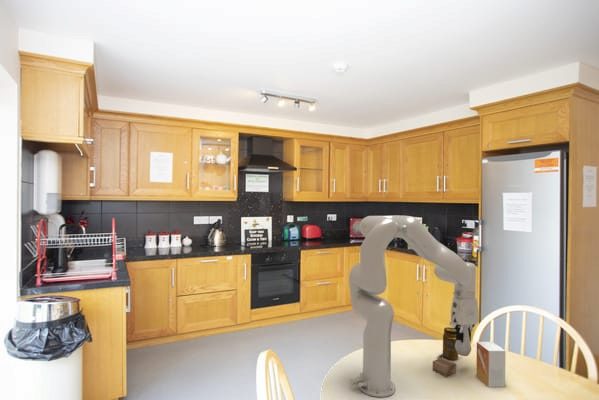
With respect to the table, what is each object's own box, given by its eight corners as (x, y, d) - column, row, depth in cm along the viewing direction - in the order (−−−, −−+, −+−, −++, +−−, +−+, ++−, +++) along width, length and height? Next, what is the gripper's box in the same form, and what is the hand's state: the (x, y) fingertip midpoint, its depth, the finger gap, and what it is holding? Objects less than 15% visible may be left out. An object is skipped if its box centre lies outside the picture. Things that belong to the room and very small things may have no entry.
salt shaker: (472, 358, 131) (473, 323, 131) (456, 356, 132) (457, 322, 133) (468, 351, 137) (469, 318, 137) (453, 350, 138) (454, 317, 138)
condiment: (462, 358, 145) (462, 329, 145) (453, 364, 139) (454, 334, 140) (444, 352, 151) (445, 324, 151) (436, 358, 145) (436, 329, 145)
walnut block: (446, 378, 129) (446, 367, 129) (432, 371, 134) (432, 361, 134) (456, 374, 132) (456, 363, 132) (442, 367, 137) (442, 357, 137)
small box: (475, 375, 130) (476, 341, 130) (492, 375, 130) (492, 341, 131) (488, 387, 122) (488, 350, 122) (505, 387, 122) (506, 350, 122)
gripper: (455, 297, 129) (454, 347, 128) (488, 295, 134) (487, 342, 134) (441, 292, 136) (439, 339, 136) (472, 290, 141) (471, 335, 141)
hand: (463, 340), depth 135 cm, fingers closed on salt shaker, 3 cm apart
